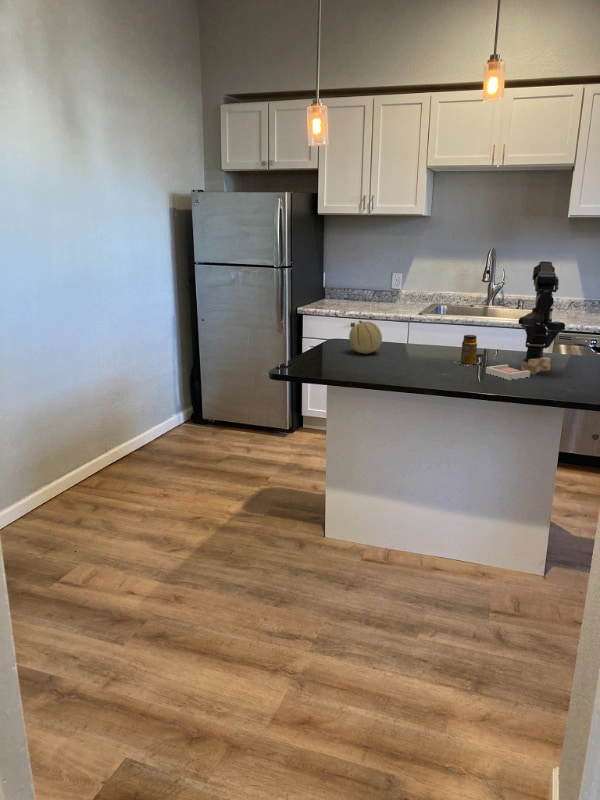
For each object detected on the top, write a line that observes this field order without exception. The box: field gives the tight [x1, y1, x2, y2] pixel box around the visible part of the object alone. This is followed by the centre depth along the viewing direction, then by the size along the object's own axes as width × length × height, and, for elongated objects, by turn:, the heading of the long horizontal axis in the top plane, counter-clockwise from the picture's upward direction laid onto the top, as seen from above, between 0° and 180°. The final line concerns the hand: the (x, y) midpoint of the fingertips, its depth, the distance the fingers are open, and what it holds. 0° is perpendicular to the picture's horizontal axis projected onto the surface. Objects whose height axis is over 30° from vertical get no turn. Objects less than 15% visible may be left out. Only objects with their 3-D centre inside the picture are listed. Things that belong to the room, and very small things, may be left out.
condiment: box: [453, 334, 480, 367], centre depth 257 cm, size 7×8×12 cm
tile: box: [498, 367, 521, 373], centre depth 240 cm, size 6×6×2 cm
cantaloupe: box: [348, 320, 383, 355], centre depth 276 cm, size 15×15×15 cm
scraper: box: [520, 356, 552, 375], centre depth 246 cm, size 11×7×5 cm, turn 117°
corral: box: [485, 364, 531, 381], centre depth 239 cm, size 11×12×2 cm
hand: (538, 344), depth 243 cm, fingers open, 9 cm apart
